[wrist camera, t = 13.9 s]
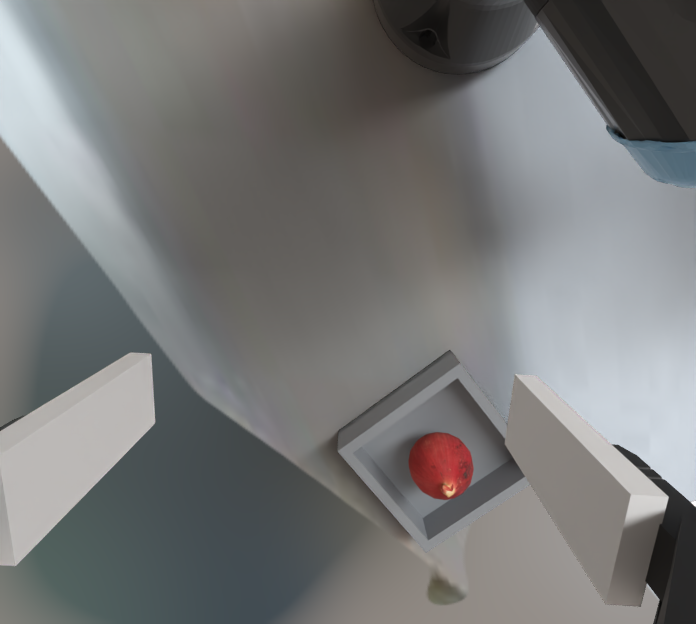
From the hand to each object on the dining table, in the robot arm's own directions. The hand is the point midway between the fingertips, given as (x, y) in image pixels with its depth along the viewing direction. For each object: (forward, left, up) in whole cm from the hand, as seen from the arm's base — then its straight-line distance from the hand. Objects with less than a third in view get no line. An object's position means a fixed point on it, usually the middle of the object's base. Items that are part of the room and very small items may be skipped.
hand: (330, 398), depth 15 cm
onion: (-4, +18, -25) cm, 31 cm away
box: (-4, +18, -26) cm, 32 cm away
